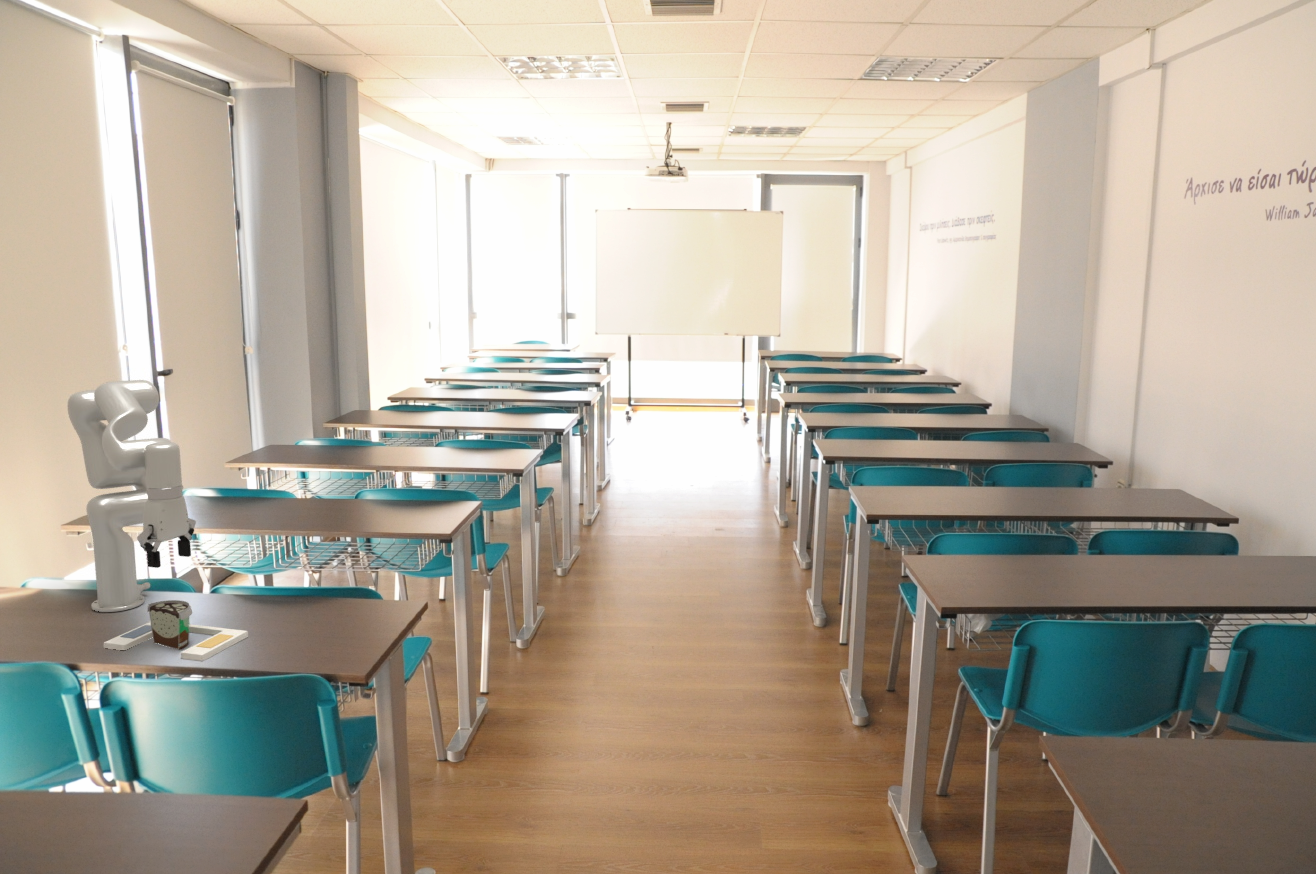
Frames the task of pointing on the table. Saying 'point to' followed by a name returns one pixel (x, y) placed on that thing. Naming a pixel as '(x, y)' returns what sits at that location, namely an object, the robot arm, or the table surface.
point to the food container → (170, 623)
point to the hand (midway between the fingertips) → (169, 561)
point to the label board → (197, 652)
